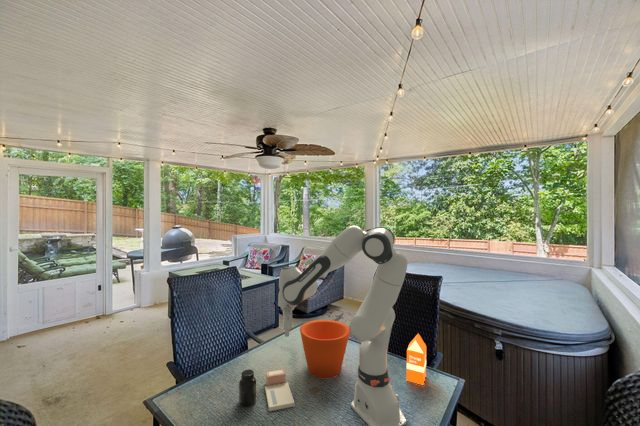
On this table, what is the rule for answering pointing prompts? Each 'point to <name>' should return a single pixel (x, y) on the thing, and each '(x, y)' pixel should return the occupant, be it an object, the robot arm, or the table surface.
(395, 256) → the robot arm
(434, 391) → the table surface
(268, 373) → the pink box
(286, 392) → the cream flat block
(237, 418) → the table surface
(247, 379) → the supplement bottle
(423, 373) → the orange juice
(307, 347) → the flowerpot
